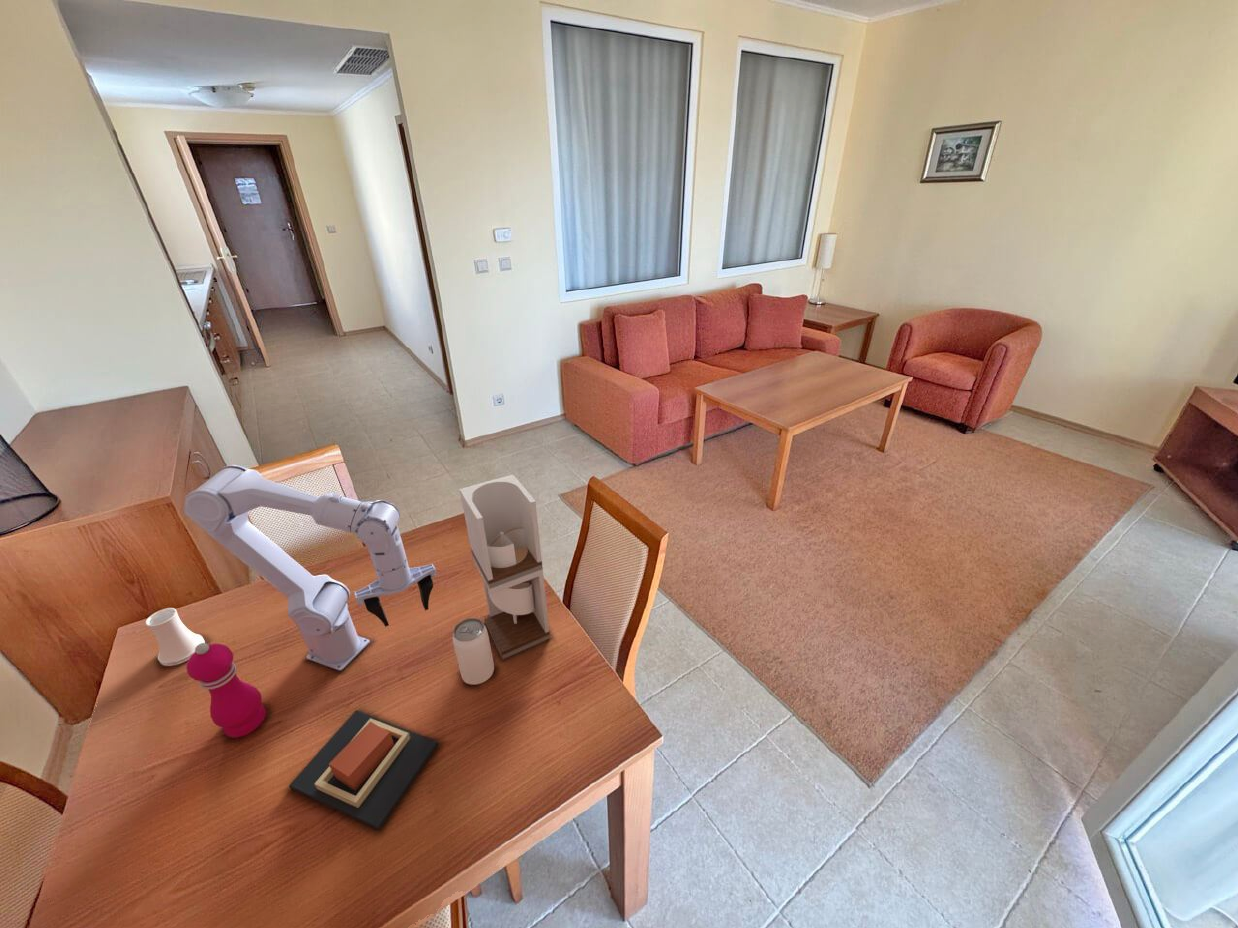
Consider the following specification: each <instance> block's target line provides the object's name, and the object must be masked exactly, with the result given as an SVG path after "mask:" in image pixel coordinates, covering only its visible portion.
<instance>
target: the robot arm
mask: <svg viewBox="0 0 1238 928" xmlns="http://www.w3.org/2000/svg"><path fill="white" fill-rule="evenodd" d="M260 507H261V508H267V509H268V508H269V509H273V510H279V511H285V512H290V513H294V514H300V515H301V514H302V515H304V516H305V515H306V516H310V517H311V518H312V519H313V521H314V523H315V524H317V525H318V526H323V527H327V528H329V529H330V528H331V529H334V530H338V531H342V532H346V533H351V534H354V535H355V536H356V538H357V539H358V540H359V541H360V542H361V543H363V544H364V545H365V547H366V549H367V551H368V553H369V556H370V559H371V562H372V566H373V569H374V571H375V575H376V577H377V579H376V580H374V581H372V582H371V583H370V584H368V585H366V586H364V587H363V588H360V589H359V590H356V591H354V592H353V594H354V597H355V600H356V603H357V606H362V605H365V609H366V610H367V611H368V612H369V613H371V614H373V616H375V617H376V618H378V619H379V620H380V621H381V622H382V624H383V625H384V627H388V626H390V625H389V621H388V617H387V615H386V612H385V611H384V609H383V606H382V603H381V601H380V598H379V597H382V596H390V595H395V594H399V593H401V592H404V591H406V590H407V589H409V588H410V587H412V586H413V585H415V584H417V587H418V590H419V595H420V600H421V604H422V607H423V609H424V611H428V610H429V601H430V596H431V593H432V590H433V589H434V582H433V579H432V578H435V577H437V576H438V575H437V570H436V567H435V566H434V564H433V563H430V564H426V565H421V566H415V567H410V566H409V562H408V558H407V554H406V550H405V547H404V543H403V540H402V537H401V533H400V529H399V526H397V525H398V523H399V521H400V519H401V512H400V509H399V508H398V507H397V506H396V505H395V504H394V503H392V502H390V501H387V500H386V499H377V500H373V501H369V500H367V501H361V500H356V499H353V498H350V497H347V496H343V494H341V493H337V492H334V493H331V492H328V493H326V494H322V495H320V496H317V495H314V494H311V493H308V492H305V491H302V490H299V489H297V488H293V487H290V486H288V485H285V484H282V483H278V482H276V481H273V480H269V479H266V478H265V477H263V476H262V475H261V473H260V472H259V471H258V470H257V469H253V468H247V467H246V466H242V465H239V464H227V465H225V466H223V467H222V468H221V469H220V470H219V471H218V472H217V473H216V474H214V475H213V476H212V477H210V478H209V479H208V480H207V481H205V482H204V483H203V484H201V485H199V487H197V488H196V489H195V490H192V491H190V492H189V493H188V494H187V495H186V496H185V499H184V511H183V512H184V515H186V516H187V517H188V518H189V519H191V520H192V521H193V522H194V523H196V525H198V526H199V527H201V528H202V529H203V530H204V531H205V532H206V534H207V535H209V537H211V538H212V539H213V540H214V541H216V542H217V543H218V544H220V546H222V547H224V548H225V549H226V550H227V551H228V552H230V553H231V554H232V555H233V556H235V557H236V558H237V559H238V560H240V561H241V562H242V563H243V564H245V565H246V566H247V567H248V568H250V569H251V570H252V571H253V572H255V573H256V574H257V575H259V577H261V578H262V579H263V580H265V582H267V583H269V585H271V586H272V587H274V588H275V589H276V590H277V591H278V592H280V593H281V594H282V595H284V596H285V597H286V598H287V616H288V617H289V618H290V619H292V620H293V622H294V623H295V624H296V626H297V628H298V629H299V630H300V635H301V637H302V639H303V642H304V644H305V647H306V648H307V651H308V652H309V653H308V654H307V655H306V656H305V658H306V659H307V660H308V661H312V662H314V663H317V664H319V665H323V666H325V667H328V668H331V669H334V670H337V671H343V670H344V669H345V668H346V667H347V666H348V665H349V664H350V663H351V662H352V661H353V660H354V659H355V658H356V657H357V656H358V655H359V654H360V653H361V652H362V651H363V650H364V649H365V648H366V647H367V646H368V645H369V644H370V643H371V640H370V639H368V638H365V637H362V636H359V635H358V633H357V630H356V627H355V624H354V622H353V620H352V617H351V614H350V612H349V610H348V608H349V605H348V603H347V602H348V601H349V599H350V597H351V591H350V589H349V587H347V585H346V584H345V583H342V582H340V581H338V580H335V579H333V578H332V577H330V576H329V575H328V574H326V573H325V574H319V575H313V574H311V572H309V571H308V570H307V569H306V568H305V567H303V566H302V565H301V564H300V563H299V562H297V560H295V559H294V558H293V557H291V556H290V555H289V554H288V553H287V552H285V551H284V550H283V549H282V548H281V547H280V546H279V545H277V544H276V543H275V542H274V541H273V540H271V539H270V538H269V537H268V536H266V534H265V533H263V532H262V531H261V530H259V529H258V528H257V527H256V526H255V525H254V524H252V522H250V521H249V520H248V519H249V518H248V516H249V512H250V511H253V510H255V509H258V508H260Z"/></svg>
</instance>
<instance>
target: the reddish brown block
mask: <svg viewBox="0 0 1238 928" xmlns="http://www.w3.org/2000/svg"><path fill="white" fill-rule="evenodd" d="M394 746H395V745H394V743H393V740H392V738H391V735H390V732H388V731H386V730H384V729H383V728H381V727H379V726H377V725H376V724H374V723H372V722H369V723H368V724H367V725H366V727H365V728H364V729H363V730H362V731H361V732H360V733H359V734H358V735H357V736H356V737H355V738H354V739H353V740H352V741H351V742H350V743H349V744H348V745H347V746H346V747H345V748H344V749H343V750H342V751H341V752H340V753H339V754H338V755H337V756H336V757H335V758H334V759H333V760H332V761H331V762H330V763H329V766H330V768H331V770H332V772H333V774H334V776H335V778H336V779H338V780H339V781H341V782H342V783H344V784H345V785H347V786H348V787H349V788H351V789H352V790H354V791H356V790H357V788H358V787H359V786H360V785H361V784H362V783H363V782H364V781H365V780H366V778H367V777H368V776H369V775H370V774H371V773H372V772H373V771H374V770H375V768H376V767H377V766H378V765H379V764H380V763H381V762H382V761H383V759H384V758H385V757H386V756H387V755H388V753H389V752H390V751H391V749H392V748H393V747H394Z"/></svg>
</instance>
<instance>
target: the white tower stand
mask: <svg viewBox="0 0 1238 928" xmlns="http://www.w3.org/2000/svg"><path fill="white" fill-rule="evenodd" d="M459 494H460V500H461V505H462V510H463V515H464V519H465V524H466V530H467V536H468V541H469V547H470V550H471V556H472V560H473V563H474V565H475V567H476V568H477V569H476V570H477V571H478V572H479V574H480V576H481V579H482V582H483V588H484V593H485V599H486V604H487V609H488V614H486V615H484V617H483V618H484V622H485V626H486V628H487V631H489V632H488V633H489V634H490V636H491V638H492V640H493V642H494V644H495V647H496V649H497V650H498V651H497V652H498V653H499V656H500V657H501V659H502V660H505V659H507V658H509V657H511V656H513V655H516V654H518V653H520V652H523V651H524V650H527V649H529V648H531V647H533V646H536V645H538V644H541V643H542V642H545V641H547V640H550V639H551V632H550V624H549V623H550V622H549V614H548V606H547V605H548V604H547V596H546V586H545V577H544V567H543V559H542V550H541V549H542V548H541V541H540V540H541V539H540V532H539V531H540V530H539V522H538V512H537V503H536V500H535V499H534V498H533V496H532V495H531V494H530V493H529V491H528V490H527V489H526V488H525V487H524V485H523V484H522V483H521V482H520V481H519V479H518V478H517V477H516V476H515V475H514V474H510V475H509V474H508V475H506V476H502V477H498V478H495V479H491V480H487V481H484V482H481V483H477V484H473V485H470V486H466V487H463V488H459Z"/></svg>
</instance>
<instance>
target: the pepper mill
mask: <svg viewBox="0 0 1238 928" xmlns="http://www.w3.org/2000/svg"><path fill="white" fill-rule="evenodd" d="M186 662H187V663H186V672H187V675H188V676H189V677H190V678H191V679H193V680H195V681H197V682H198V684H199V685H200V687H201V688H202V689H203V690H208V693H209V694H210V705H209V712H210V718H211V720H212V722H213V724H215V726H217V727H219V728H222V731H223V732H224V733H225V735H226V736H227V737H229V738H234V739H235V738H236V739H237V738H241V737H244V736H247V735H249V734H250V733H253V732H254V731H255V730H256V729H258V727H260V725H262V723H263V722H264V721H265V718H266V715H267V710H266V708H265V705H264V704H263V703H262V700H263V697H262V693H261V692H260V691H259V689H258V688H257V687H255V686H254V685H252V684H250V683H247V682H245V681H242V680H241V679H240V678H239V677H238V676H237V670H238V668H237V665H235V663H234V654H233V651H232V649H230V647H228V646H227V645H225V644H222V643H211V644H208V643H207V642H205V643H201V644H199V645H197V646H196V648H195V653H194V654H193V655H192V656H191V657H190V658H189V660H187V661H186Z"/></svg>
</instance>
